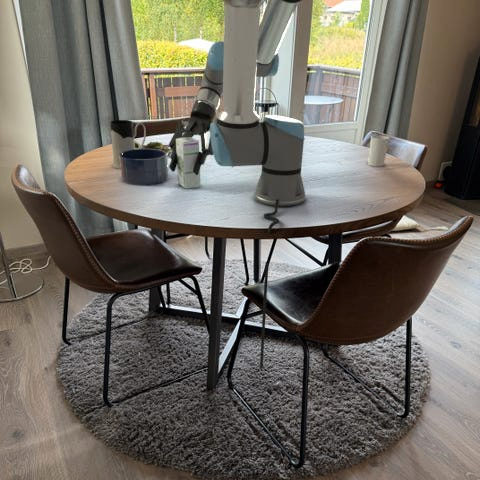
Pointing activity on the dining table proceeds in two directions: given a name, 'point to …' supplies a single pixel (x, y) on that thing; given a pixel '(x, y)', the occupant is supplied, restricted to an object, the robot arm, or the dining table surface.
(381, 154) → the cream cylindrical container
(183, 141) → the syrup box
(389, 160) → the dining table surface
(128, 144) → the white black mug
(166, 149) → the salad plate
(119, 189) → the dining table surface
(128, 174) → the pot
